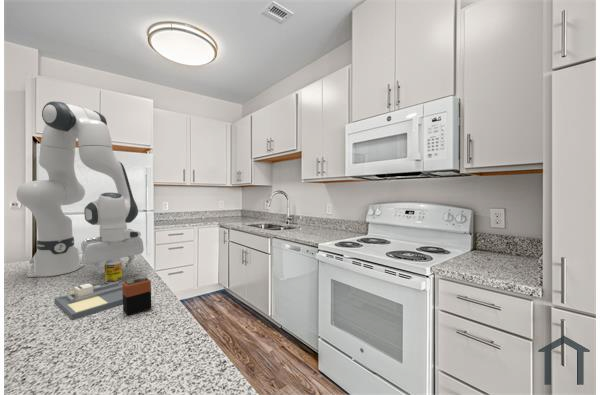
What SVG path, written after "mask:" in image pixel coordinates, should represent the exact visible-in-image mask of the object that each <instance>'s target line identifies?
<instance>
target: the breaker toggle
mask: <svg viewBox="0 0 600 395" xmlns="http://www.w3.org/2000/svg"><path fill="white" fill-rule="evenodd" d="M93 287H94V286H93V285H92V284H90V283H89V282H88V283H85V284H80V285H77V286H76V285H75V286H73V291H74V298H76V299H77V298H81V297H84V296H88V295H92V294H93Z"/></svg>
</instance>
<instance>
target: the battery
mask: <svg viewBox="0 0 600 395" xmlns="http://www.w3.org/2000/svg"><path fill="white" fill-rule="evenodd" d="M121 284H122V290H123V304H122V312H124V313H125V314H126V316H131V315H134V314H138V313H141V312H145V311H148V310H151V309H152V281H151V280H150V279H149V278H148V277H147V276H146V275H141V276H138V277H137V278H136V279H126V281H124V282H123V281H122V283H121Z"/></svg>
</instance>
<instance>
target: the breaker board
mask: <svg viewBox="0 0 600 395" xmlns="http://www.w3.org/2000/svg"><path fill="white" fill-rule="evenodd" d="M54 303H55V304H56V305H57V306H58V307H59V309H61V310H62V311H63V312H64V314H66V315H67V316H68V317H69V318H70V319H71V320H72V321H74V320H76V319H79V318H83V317H86V316H89V315H93V314H96V313H98V312H99V313H100V312H102V311H106V310H108V309H113V308H115V307H118V306H122V305H123V290H122V283H120V282H115V283H111V284H107V283H106V284H103V285H101V284H97V285H94V286H93V294H92V295H88V296H84V297H81V298H77V299H76V298H74V290H72V291H71V293H68V292H66V293H61V294H60V295H59V296H57V297H54Z"/></svg>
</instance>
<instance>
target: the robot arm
mask: <svg viewBox="0 0 600 395" xmlns="http://www.w3.org/2000/svg"><path fill="white" fill-rule="evenodd" d="M41 117H42V120H43V122H44V127H43V130H42V134H41V138H40V145H39V146H40V147H39V156H38V164H39V166H40V167H41V168H42V169H44V170H45V171H46V172H47V176H48V179H47V180H46V179H38V180H32V181H27V182H23V183H21V184H20V185H19V186H18V188H17V190H16V198H17V200H18V202H19V203H20V204H21V205H23V206H24V207H26V208H27V209H28V210H29V211H30V212H31V214H32V215H33V217H34V219H35V221H36V228H37V241H36V249H37V250H36V252H35V253H34V255H33V257H29V259H28V260H29V261H28V262H29V264H30V266H28V270H27V274H26V277H27V278H34V277H35V278H36V277H42V278H43V277H54V276H61V275H65V274H69V273H73V272H75V271H77V270H79V269H81V268H83V267H85V265H94V266H95V268H96V269H97V271H98V274H99V275H102V274H105V267H104V268H103V267H101V265H102V264H101V263H105V262H106V261H109V260H113V259H115V258H117V259H123V258H129V259H128V260H127V262H125V268H127V269H128V268H132V263H133V261H134V259H135V256H137V255H142V254H143V252H144V241H143V239H142V238H141V235H142V234H141V233H142V232H141V231H138V230H134V229H130V228H128V226H127V224H129V223H132V222H133V221H134V220H135V219H136V218H137V216H138V215H139V209H138V204H137V203H136V201H135V198H134V195H133V193H132V188H131V185H130V181H129V178H128V175H127V172H126V169H125V166H124V164H123V163H122V162H121V161H119V160H118V159H117V157H116V156H115V153H114V149H113V143H112V142H113V141H112V137H111V133H110V129H109V128H108V122H107V119H106V117H105V116H104V115H103V114H101V113H100V112H98V111H96V110H92V109H89V108H86V107H83V106H80V105H76V104H75V105H74V104H70V103H65V102H62V101H49V102H47V103H46V104H44V106H43V108H42V111H41ZM76 141H77V142H76ZM76 143H77V144H78V145H76ZM76 146H77V147H78V155H79V159H80V160H81V163H82V164H83V165H84V166H85V167H87V168H88V169H90V170H93V171H95V172H99V173H101V174H104V175H106V176H108V177H110V178H111V179H112V180H113V182H114V184H115V187H116V190H117V191H116V192H104V193H101V194H100V195H98V196H99V197H98V199H96V200H95V201H91V202H89V203H88V204H87V205H85V207H84V211H83V212H84V219H85V221H86V222H87V223H89V224H90V225H92V226H99V236H98V237H92V238H91V237H90V238H87V239H85V240H83V241H82V242H81V250H82V257H81V259H80V251H79V249H78V247H75V238H74V236H73V222H72V221H73V220H72V219H71V217H69V216H67V215H66V214H65V213H64V212H63V210H62V207H61V206H69V205H73V204H76V203H79V202H80V201H82V200H83V199H84V197H85V195H86V191H85V188H84V185H82V184H81V183H80V182H79V180H78V178H77V176H76V171H75V157H76V156H75V155H76Z"/></svg>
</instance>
